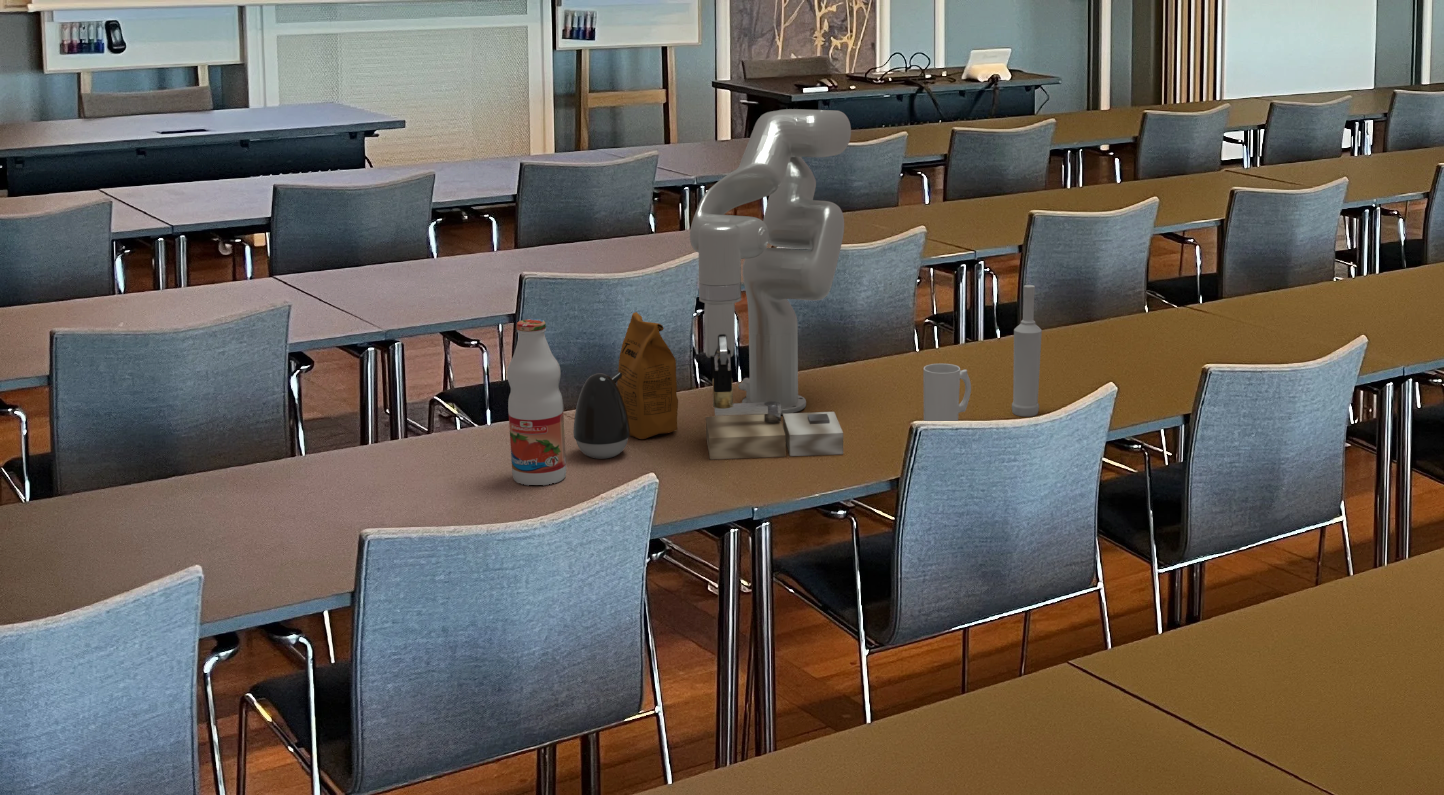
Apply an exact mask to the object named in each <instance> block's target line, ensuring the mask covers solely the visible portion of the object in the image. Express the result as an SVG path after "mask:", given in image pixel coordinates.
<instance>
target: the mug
mask: <svg viewBox="0 0 1444 795" xmlns="http://www.w3.org/2000/svg"><path fill="white" fill-rule="evenodd" d="M922 376H923V383H922V384H923V422H924V421H958V422H959V414H960V413H964V412H966V410H967V407H968V404H969V400H970V398H971V393H972V384H971V379H970V377H969V374H968V369H962V370H961V368H960V366H959V365H956V364H952V363H931V364H927V365H924V367H923V375H922ZM961 380H962V381H963V384H964V389H965V390H964V395H963V398H962V400H961V402H960V385H961ZM959 402H960V403H959Z"/></svg>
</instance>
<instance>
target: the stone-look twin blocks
mask: <svg viewBox="0 0 1444 795" xmlns="http://www.w3.org/2000/svg"><path fill="white" fill-rule="evenodd" d="M843 431H844V430H843V429H842V427H841V425H840V422H839V420H838V418H837V415H836V412H835V411H820V412H794V413H788V414H782V420H781V421H780V422H778V423H767V422H765V421H764V414H752V415H725V416H715V415H714V416H713V415H712V416H705V439H706V444H707V450H708V455H709V460H726V459H729V460H730V459H732V460H733V459H751V458H752V459H753V458H754V459H755V458H779V457H781V458H782V457H783V458H784V457H786V456H787V455H786V454H787V453H786V452H788V454H789V457H797V456H798V457H802V456H803V457H804V456H807V457H808V456H827V455H828V456H829V455H831V456H832V455H833V456H834V455H843V454H844V432H843ZM786 449H787V450H786Z"/></svg>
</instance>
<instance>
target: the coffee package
mask: <svg viewBox="0 0 1444 795" xmlns="http://www.w3.org/2000/svg"><path fill="white" fill-rule="evenodd" d="M643 320H644V319H643V316H642V315H641V314H639V313H638V312H637V311H636V312H633V313H632V314H631V318H630V321H629V323H628V326H627V329H626V333H625V336H624V338H623V341H622V344H621V348H620V353H619V359H618V369H617V373H618V372H620V373H621V374H622V377H621V378H620V379H619V380H618V381H617V382H616V385H617V387H618V389H619V391H620V393H621V396H622V398H623V401H624V404H625V407H626V411H627V415H628V420H629V426H630V436H629V437H633V438H636V439H638V440H645V439H648V438H650V437H654V436H657V435H664V434H670V433H672V432H675V431H678V412H679V411H678V409H679V398H678V396H677V389H678V384H677V360H676V358H675V356H674V354H673V352H672V351H671V349H670V347H669V346H668V345H667V343H666V342H665V341H664V340H665V339H664V338H663V336H662V335H661V333H660V332H662V331H663V330H664V329H665V328H664V326H663V324H661V323H657V322H650V321H643Z"/></svg>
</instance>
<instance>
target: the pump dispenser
mask: <svg viewBox="0 0 1444 795" xmlns="http://www.w3.org/2000/svg"><path fill="white" fill-rule="evenodd" d="M621 377H622V374H621V373H620V372H618V371H617V372H616V373H615V374H613V376H609V374H605V373H600V372H597V373H593V374H591V375H590V376H588V378H587V379H586V380H585V382H584V384H583V386H582V388H581V389H580V393H579V395H578V396H579V397H578V400H577V403H576V407H575V413H574V421H573V430H572V431H573V432H572V433H573V438H574V440H575V442H576V445H577V447H578V448H579V450H580V452H582V454H584V455H585V456H587V457H589V458H592V459H599V460H600V459H601V460H603V459H611V458H613V457H616V456H617V455H619V454H621V453H622V452H623V451H624V450H625V448H626V446H627V444H628V440H629V437H631V436H630V426H629V420H628V415H627V411H626V407H625V404H624V401H623V398H622V396H621V393H620V391H619V389H618V387H617V381H618V380H619V379H620V378H621Z"/></svg>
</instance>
